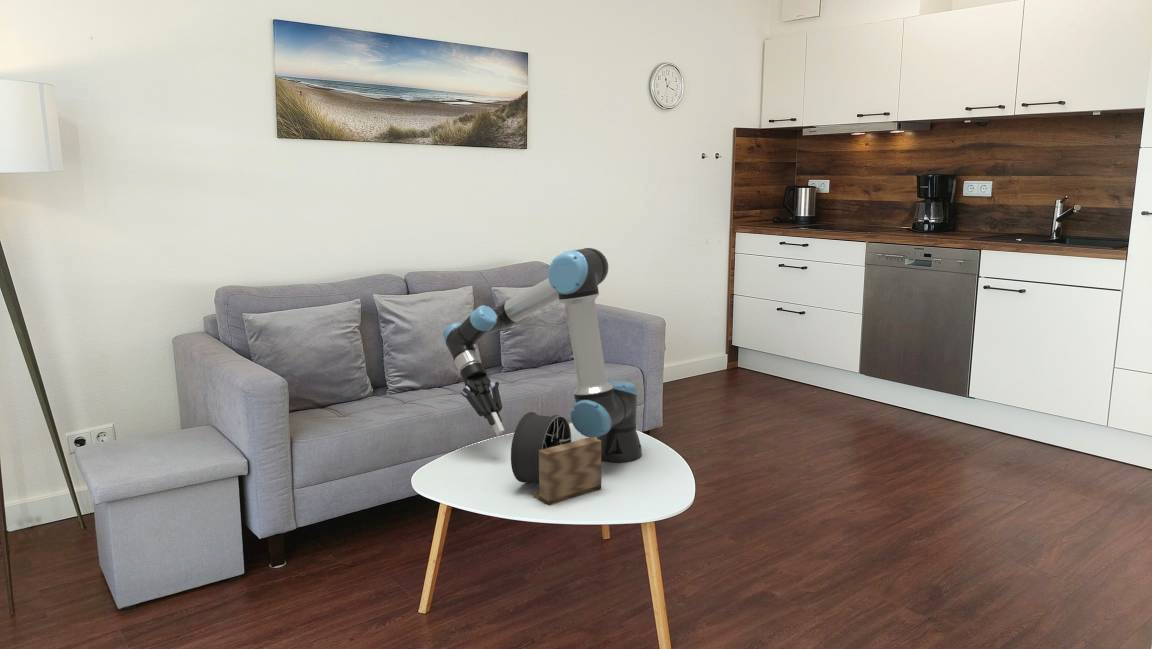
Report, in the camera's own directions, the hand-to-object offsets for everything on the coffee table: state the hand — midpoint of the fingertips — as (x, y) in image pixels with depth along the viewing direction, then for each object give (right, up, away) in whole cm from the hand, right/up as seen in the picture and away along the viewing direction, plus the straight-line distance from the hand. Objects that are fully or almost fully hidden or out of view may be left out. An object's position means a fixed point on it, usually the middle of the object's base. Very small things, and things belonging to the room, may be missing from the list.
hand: (500, 432), depth 245 cm
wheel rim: (+13, -12, -15) cm, 23 cm away
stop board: (+20, -14, -22) cm, 33 cm away
